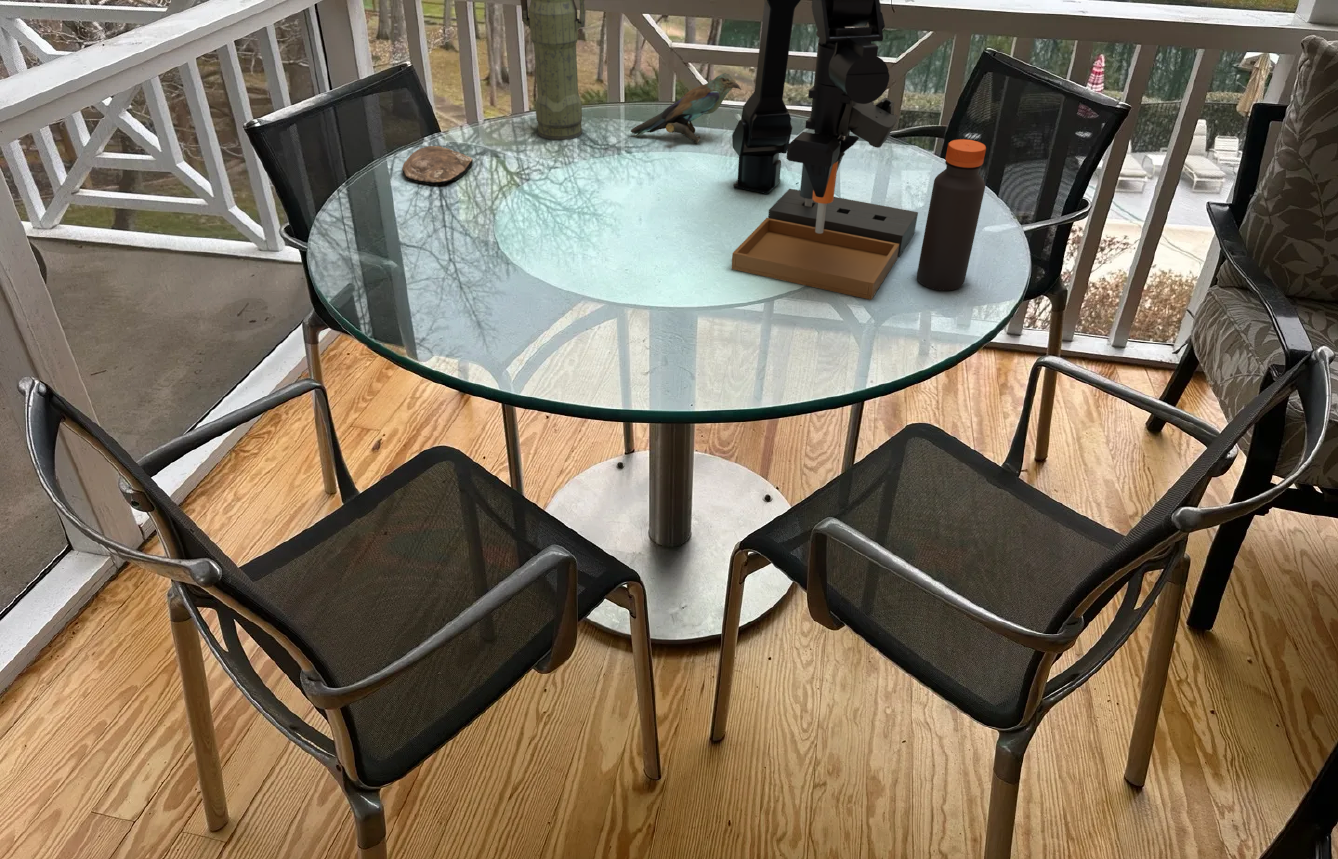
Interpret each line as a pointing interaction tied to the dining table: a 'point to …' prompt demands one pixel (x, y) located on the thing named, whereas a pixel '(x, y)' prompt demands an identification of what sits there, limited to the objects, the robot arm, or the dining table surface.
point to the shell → (436, 165)
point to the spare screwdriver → (806, 188)
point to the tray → (816, 257)
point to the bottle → (952, 217)
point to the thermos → (556, 65)
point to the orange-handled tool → (825, 200)
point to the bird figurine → (690, 108)
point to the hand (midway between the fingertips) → (823, 192)
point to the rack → (849, 218)
